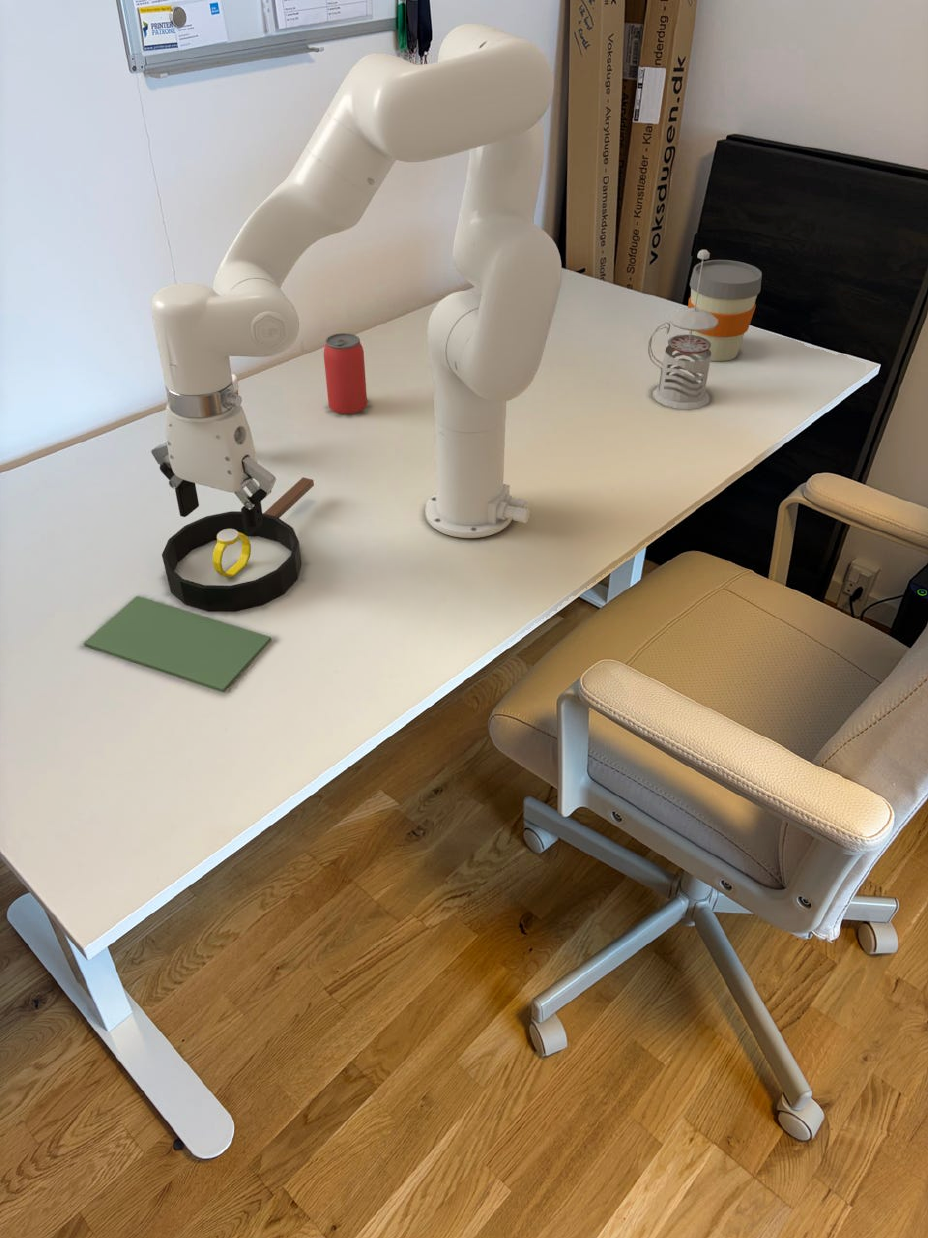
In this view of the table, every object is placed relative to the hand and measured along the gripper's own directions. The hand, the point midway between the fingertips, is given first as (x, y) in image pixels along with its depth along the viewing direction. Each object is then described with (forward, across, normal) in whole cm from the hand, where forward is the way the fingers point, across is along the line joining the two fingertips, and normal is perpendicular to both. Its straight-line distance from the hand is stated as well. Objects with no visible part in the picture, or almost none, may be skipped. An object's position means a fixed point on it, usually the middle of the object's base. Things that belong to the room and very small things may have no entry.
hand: (221, 520), depth 121 cm
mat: (+8, -2, +14) cm, 17 cm away
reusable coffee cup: (+6, -44, -96) cm, 105 cm away
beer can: (+8, +8, -48) cm, 49 cm away
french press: (+6, -42, -74) cm, 86 cm away
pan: (+8, -1, -6) cm, 10 cm away
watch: (+8, 0, 0) cm, 8 cm away
